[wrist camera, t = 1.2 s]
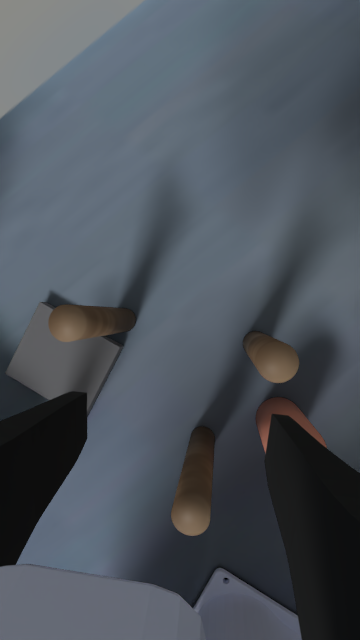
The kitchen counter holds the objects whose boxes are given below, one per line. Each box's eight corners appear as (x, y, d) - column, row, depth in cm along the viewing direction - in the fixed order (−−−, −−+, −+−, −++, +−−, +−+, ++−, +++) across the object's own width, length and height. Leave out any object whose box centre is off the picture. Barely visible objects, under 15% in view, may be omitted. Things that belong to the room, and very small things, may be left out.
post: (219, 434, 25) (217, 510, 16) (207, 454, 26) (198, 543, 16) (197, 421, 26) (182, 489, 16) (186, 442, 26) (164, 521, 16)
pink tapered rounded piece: (310, 411, 24) (338, 442, 19) (288, 450, 25) (308, 492, 19) (269, 388, 25) (284, 412, 19) (247, 427, 25) (255, 462, 19)
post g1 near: (272, 338, 25) (306, 354, 15) (260, 360, 25) (286, 390, 15) (250, 326, 25) (268, 334, 15) (238, 348, 25) (249, 370, 15)
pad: (123, 346, 26) (120, 347, 25) (87, 416, 27) (82, 420, 26) (46, 302, 27) (39, 301, 26) (12, 371, 28) (5, 373, 27)
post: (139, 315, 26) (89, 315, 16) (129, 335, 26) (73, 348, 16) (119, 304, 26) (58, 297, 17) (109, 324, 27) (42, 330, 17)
